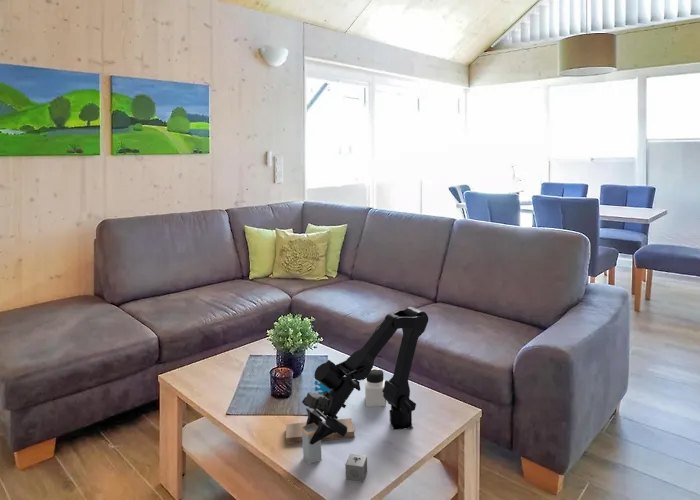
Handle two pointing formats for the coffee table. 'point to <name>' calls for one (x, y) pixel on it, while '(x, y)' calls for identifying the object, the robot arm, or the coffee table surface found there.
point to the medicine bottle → (375, 388)
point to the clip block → (310, 451)
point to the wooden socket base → (296, 433)
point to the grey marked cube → (356, 468)
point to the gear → (321, 388)
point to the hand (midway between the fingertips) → (307, 440)
